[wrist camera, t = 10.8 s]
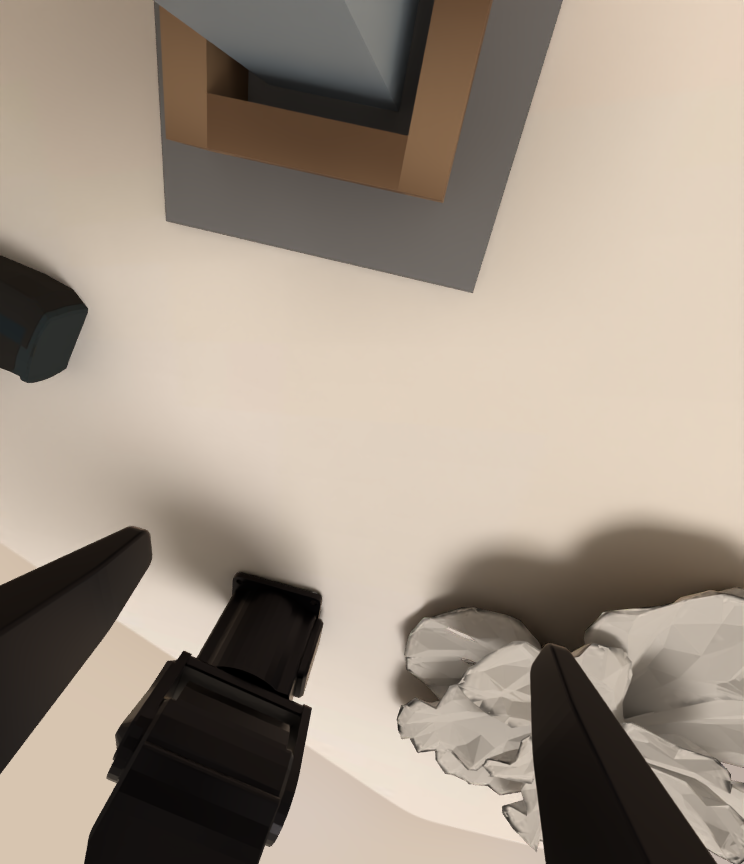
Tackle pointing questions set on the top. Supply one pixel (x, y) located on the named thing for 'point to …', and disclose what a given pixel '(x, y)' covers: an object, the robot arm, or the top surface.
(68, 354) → the handgun
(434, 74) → the brown square open frame
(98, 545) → the robot arm
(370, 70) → the tin
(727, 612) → the decorative wall flower
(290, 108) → the mat
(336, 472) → the top surface
